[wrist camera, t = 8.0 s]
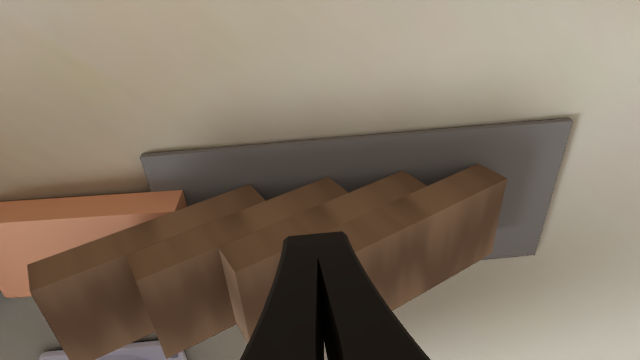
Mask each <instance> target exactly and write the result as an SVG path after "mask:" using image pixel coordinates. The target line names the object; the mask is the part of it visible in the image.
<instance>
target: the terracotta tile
mask: <svg viewBox="0 0 640 360" xmlns="http://www.w3.org/2000/svg"><path fill="white" fill-rule="evenodd" d="M185 207H187V204H186V200H185V197H184V193H183V190H173V191H158V192H143V193H128V194H112V195H97V196H82V197H67V198H51V199H36V200H21V201H6V202H0V290H1V292H2V293H3V295H4V296H5V298H14V297H29V296H32V295H31V293H30V289H29V279H28V269H27V265H28V264H31V263H33V262H36V261H39V260H42V259H44V258H47V257H50V256H53V255H55V254H58V253H61V252H64V251H66V250H69V249H72V248H75V247H78V246H80V245H83V244H86V243H89V242H91V241H94V240H97V239H100V238H102V237H105V236H108V235H111V234H113V233H116V232H119V231H122V230H124V229H127V228H130V227H133V226H135V225H138V224H141V223H144V222H146V221H149V220H152V219H155V218H158V217H160V216H163V215H166V214H169V213H171V212H174V211H177V210H180V209H182V208H185Z"/></svg>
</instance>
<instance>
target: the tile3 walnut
mask: <svg viewBox="0 0 640 360" xmlns="http://www.w3.org/2000/svg"><path fill="white" fill-rule="evenodd" d="M347 193H348V192H347V191H346V190H345V189H343V188H342V187H341V186H340V185H338V184H337V183H336V182H335V181H333V180H332V179H331V178H330V177H326V178H323V179H321V180H318V181H316V182H313V183H311V184H308V185H305V186H303V187H300V188H298V189H295V190H293V191H290V192H287V193H285V194H282V195H280V196H277V197H274V198H272V199H269V200H267V201H264V202H262V203H259V204H256V205H254V206H251V207H249V208H246V209H243V210H241V211H238V212H236V213H233V214H231V215H228V216H225V217H223V218H220V219H218V220H215V221H213V222H210V223H207V224H205V225H202V226H200V227H197V228H194V229H192V230H189V231H187V232H184V233H182V234H179V235H176V236H174V237H171V238H169V239H166V240H164V241H161V242H158V243H156V244H153V245H151V246H148V247H145V248H143V249H140V250H138V251H135V252H133V253H130V254H127V255H126V257H127V260H128V262H129V265H130V268H131V270H132V273H133V275H134V278H135V281H136V283H137V286H138V288H139V291H140V293H141V296H142V299H143V301H144V304H145V306H146V309H147V311H148V314H149V316H150V319H151V322H152V324H153V327H154V329H155V332H156V334H157V337H158V340H159V342H160V345H161V347H162V350H163V352H164V355H165V357H166V359H168V358H170V357H172V356H174V355H176V354H178V353H180V352H182V351H184V350H186V349H188V348H190V347H192V346H194V345H196V344H198V343H200V342H202V341H204V340H206V339H208V338H210V337H212V336H214V335H216V334H218V333H220V332H222V331H224V330H226V329H228V328H230V327H232V326H234V325H236V320H235V316H234V312H233V307H232V303H231V299H230V295H229V291H228V286H227V282H226V278H225V274H224V269H223V265H222V261H221V257H220V253H219V248H218V247H220V246H222V245H225V244H227V243H230V242H232V241H234V240H237V239H239V238H242V237H244V236H246V235H249V234H251V233H254V232H256V231H258V230H261V229H263V228H266V227H268V226H270V225H273V224H275V223H278V222H280V221H282V220H285V219H287V218H290V217H292V216H294V215H297V214H299V213H302V212H304V211H306V210H309V209H311V208H314V207H316V206H318V205H321V204H323V203H326V202H328V201H330V200H333V199H335V198H338V197H340V196H342V195H345V194H347Z"/></svg>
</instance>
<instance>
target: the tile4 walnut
mask: <svg viewBox="0 0 640 360" xmlns="http://www.w3.org/2000/svg"><path fill="white" fill-rule="evenodd" d="M264 201H265V200H264V198H263V197H262V196H261V195H260V194H259V193H258V192H257V191H256V190H255V189H254V188H253V187H252V186H251V184H249V185H246V186H243V187H240V188H238V189H235V190H232V191H229V192H227V193H224V194H221V195H218V196H215V197H213V198H210V199H207V200H204V201H202V202H199V203H196V204H193V205H191V206H188V207H185V208H182V209H180V210H177V211H174V212H171V213H169V214H166V215H163V216H160V217H158V218H155V219H152V220H149V221H146V222H144V223H141V224H138V225H135V226H133V227H130V228H127V229H124V230H122V231H119V232H116V233H113V234H111V235H108V236H105V237H102V238H100V239H97V240H94V241H91V242H89V243H86V244H83V245H80V246H78V247H75V248H72V249H69V250H66V251H64V252H61V253H58V254H55V255H53V256H50V257H47V258H44V259H42V260H39V261H36V262H33V263H31V264H28V265H27V269H28V279H29V289H30V293H31V295H32V297H33V298H34V300H35V302H36V303H37V305H38V307H39V309H40V310H41V312H42V314H43V316H44V317H45V319H46V321H47V322H48V324H49V326H50V328H51V329H52V331H53V333H54V334H55V336H56V338H57V340H58V341H59V343H60V345H61V347H62V348H63V350H64V352H65V353H66V355H67V357H68V359H69V360H96V359H98V358H100V357H102V356H104V355H107V354H109V353H111V352H113V351H115V350H117V349H119V348H121V347H124V346H126V345H128V344H130V343H132V342H134V341H136V340H139V339H141V338H143V337H145V336H147V335H149V334H151V333H154V332H155V329H154V327H153V324H152V322H151V319H150V316H149V314H148V311H147V309H146V306H145V304H144V301H143V299H142V296H141V293H140V291H139V288H138V286H137V283H136V281H135V278H134V275H133V273H132V270H131V268H130V265H129V262H128V260H127V257H126V255H127V254H130V253H133V252H135V251H138V250H140V249H143V248H145V247H148V246H151V245H153V244H156V243H158V242H161V241H164V240H166V239H169V238H171V237H174V236H176V235H179V234H182V233H184V232H187V231H189V230H192V229H194V228H197V227H200V226H202V225H205V224H207V223H210V222H213V221H215V220H218V219H220V218H223V217H225V216H228V215H231V214H233V213H236V212H238V211H241V210H243V209H246V208H249V207H251V206H254V205H256V204H259V203H262V202H264Z"/></svg>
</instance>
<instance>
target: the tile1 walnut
mask: <svg viewBox="0 0 640 360" xmlns="http://www.w3.org/2000/svg"><path fill="white" fill-rule="evenodd" d="M506 182H507V178H505V177H503V176H501V175H500V174H498V173H496V172H494V171H492V170H490V169H488V168H486V167H485V166H483V165H481V164H479V163H478V164H476V165H474V166H471V167H469V168H467V169H465V170H462V171H460V172H458V173H456V174H453V175H451V176H449V177H447V178H445V179H442V180H440V181H438V182H436V183H433V184H431V185H429V186H427V187H424V188H422V189H420V190H418V191H415V192H413V193H411V194H409V195H406V196H404V197H402V198H400V199H397V200H395V201H393V202H391V203H388V204H386V205H384V206H382V207H380V208H377V209H375V210H373V211H371V212H368V213H366V214H364V215H362V216H359V217H357V218H355V219H353V220H350V221H348V222H346V223H344V224H341V225H339V226H337V227H335V228H332V229H330V230H328V231H326V232H323V233H328V232H339V231H342V232H344V233H345V234H346V235H347V237H348V239H349V242H350V244H351V246H352V248H353V250H354V252H355V254H356V256H357V258H358V259H359V261H360V263H361V265H362V266H363V268H364V270H365V272H366V273H367V275H368V277H369V278H370V280H371V281H372V283H373V284H374V286H375V287H376V289H377V290H378V292H379V293H380V295H381V296H382V298H383V299H384V301H385V302H386V304H387V305H388V306H389V308H390V309H391V311H393V310H394V309H396V308H398V307H400V306H401V305H403V304H405V303H406V302H408V301H410V300H412V299H413V298H415V297H417V296H419V295H420V294H422V293H424V292H426V291H427V290H429V289H431V288H433V287H434V286H436V285H438V284H439V283H441V282H443V281H445V280H446V279H448V278H450V277H452V276H453V275H455V274H457V273H459V272H460V271H462V270H464V269H466V268H467V267H469V266H471V265H472V264H474V263H476V262H478V261H479V260H481V259H483V258H485V257H486V256H488V255H490V254H491V253H492V248H493V244H494V239H495V234H496V229H497V225H498V220H499V215H500V211H501V206H502V201H503V196H504V192H505V187H506Z"/></svg>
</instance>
